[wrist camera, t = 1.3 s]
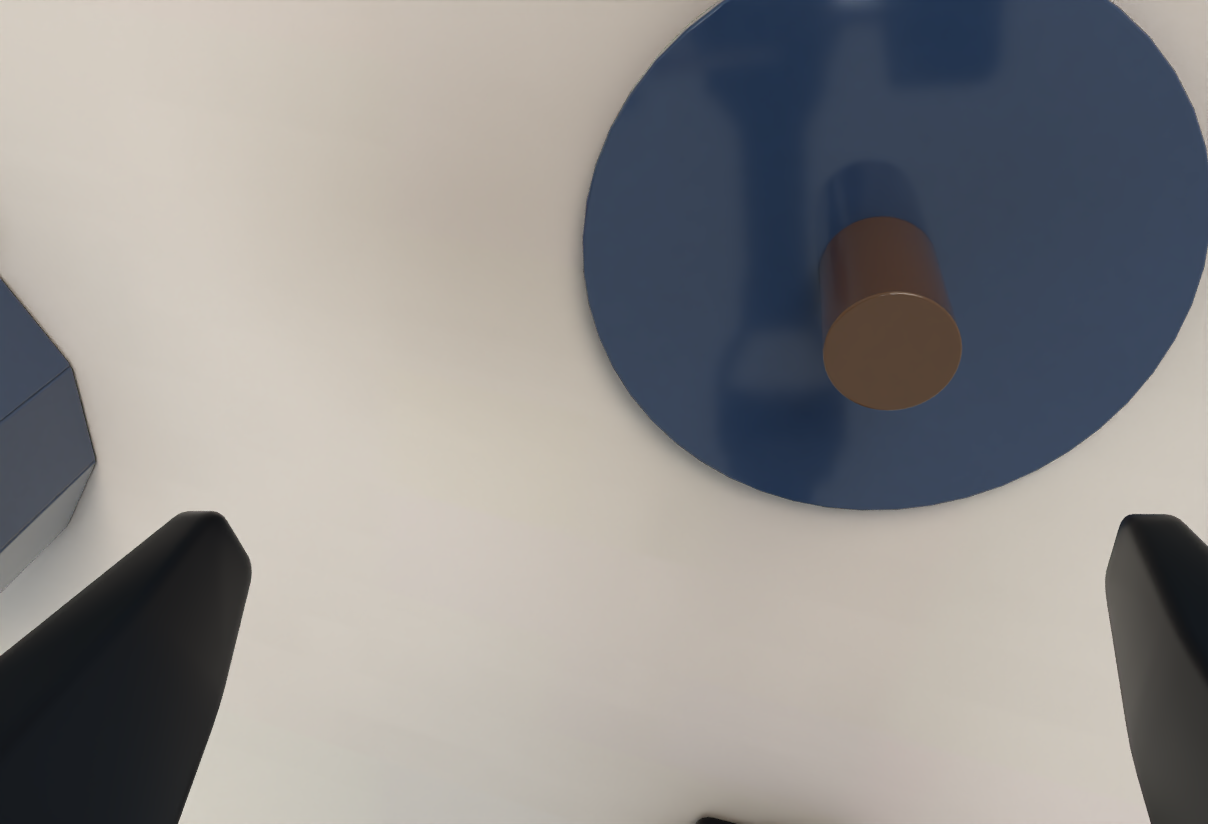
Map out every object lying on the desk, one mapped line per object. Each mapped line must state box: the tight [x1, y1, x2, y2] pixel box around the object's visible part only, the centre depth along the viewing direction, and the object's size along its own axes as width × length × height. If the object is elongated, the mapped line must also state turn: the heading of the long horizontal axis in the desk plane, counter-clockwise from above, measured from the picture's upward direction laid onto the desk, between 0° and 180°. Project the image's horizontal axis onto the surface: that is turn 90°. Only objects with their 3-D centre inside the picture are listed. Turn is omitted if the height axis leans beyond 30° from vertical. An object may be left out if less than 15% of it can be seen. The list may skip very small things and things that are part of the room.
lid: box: [582, 0, 1208, 510], centre depth 21 cm, size 14×14×5 cm
